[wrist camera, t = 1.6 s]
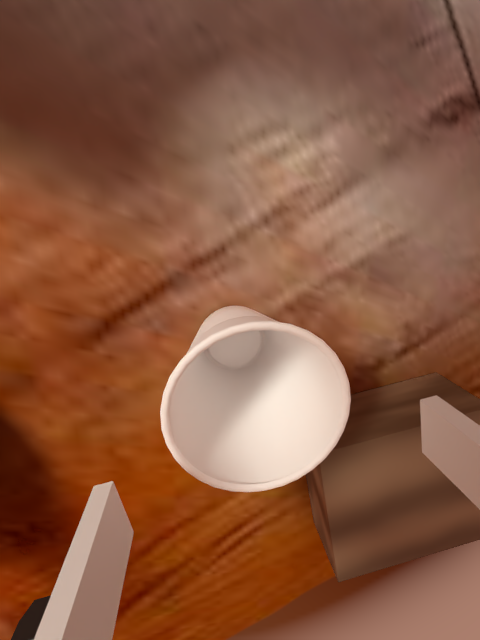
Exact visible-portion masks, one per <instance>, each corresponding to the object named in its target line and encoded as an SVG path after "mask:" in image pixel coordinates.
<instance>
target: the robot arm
mask: <svg viewBox="0 0 480 640" xmlns="http://www.w3.org/2000/svg"><path fill="white" fill-rule="evenodd" d="M420 414H421V438H422V453H423V454H424V455H425V456H426V457H427V458H428V459H429V460H430V461H431V462H432V463H433V464H434V465H435V466H436V467H437V468H438V469H439V470H440V471H441V472H442V473H443V474H444V475H445V476H447V477H448V478H449V479H450V480H451V481H452V482H453V483H454V484H455V485H456V486H457V487H458V488H459V489H460V490H461V491H462V492H463V493H464V494H465V495H466V496H467V497H468V498H469V499H470V500H471V501H472V502H473V503H474V504H475V505H476V506H477V507H478V508H479V509H480V425H478V424H477V423H475V422H474V421H473V420H471V419H470V418H468V417H467V416H465V415H464V414H463V413H461V412H460V411H458V410H457V409H455V408H454V407H453V406H451V405H450V404H448V403H447V402H445V401H444V400H443V399H441V398H440V397H438V396H437V395H436V396H432V397H428V398H424V399H421V400H420ZM133 533H134V532H133V529H132V527H131V524H130V522H129V519H128V517H127V514H126V512H125V509H124V507H123V505H122V502H121V500H120V497H119V495H118V492H117V490H116V487H115V485H114V482H113V481H111V482H108V483H104V484H100V485H96V486H94V487H93V489H92V492H91V495H90V497H89V500H88V502H87V505H86V507H85V510H84V512H83V515H82V518H81V520H80V523H79V525H78V528H77V530H76V533H75V535H74V538H73V541H72V543H71V546H70V548H69V551H68V553H67V556H66V558H65V561H64V564H63V566H62V569H61V571H60V574H59V576H58V579H57V581H56V584H55V587H54V589H53V592H52V594H51V596H47V597H44V598H40V599H37V600H34V602H33V603H32V604H31V606H30V607H29V609H28V610H27V611H26V613H25V614H24V616H23V617H22V618H21V620H20V621H19V623H18V625H17V627H16V630H15V632H14V634H13V636H12V638H11V640H112V637H113V632H114V627H115V622H116V617H117V612H118V607H119V602H120V597H121V592H122V587H123V582H124V577H125V572H126V568H127V563H128V558H129V553H130V548H131V543H132V538H133Z"/></svg>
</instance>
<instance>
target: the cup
mask: <svg viewBox="0 0 480 640" xmlns="http://www.w3.org/2000/svg"><path fill="white" fill-rule="evenodd" d="M350 403H351V395H350V385H349V380H348V377H347V374H346V371H345V368H344V366H343V365H342V363H341V361H340V360H339V358H338V356H337V355H336V353H335V352H334V351H333V350H332V349H331V348H330V347H329V346H328V345H327V344H326V343H325V342H324V341H323V340H322V339H320V338H319V337H317V336H316V335H314V334H313V333H311V332H310V331H308V330H305V329H303V328H300V327H297V326H295V325H292V324H288V323H281V322H278V321H276V320H274V319H272V318H269V317H267V316H265V315H263V314H261V313H259V312H257V311H255V310H253V309H250V308H248V307H244V306H228V307H224V308H221V309H219V310H217V311H215V312H214V313H212V314H211V315H209V316H208V317H207V318H206V319H205V321H204V322H203V324H202V325H201V327H200V329H199V331H198V333H197V335H196V337H195V339H194V341H193V342H192V344H191V346H190V348H189V350H188V352H187V354H186V355H185V356H184V357H183V358H182V359H181V360H180V362H179V363H178V365H177V366H176V368H175V369H174V371H173V372H172V374H171V375H170V377H169V380H168V382H167V385H166V387H165V390H164V392H163V397H162V403H161V410H160V415H161V429H162V432H163V435H164V439H165V442H166V445H167V447H168V448H169V450H170V452H171V453H172V455H173V457H174V458H175V460H176V461H177V462H178V463H179V464H180V465H181V466H182V467H183V468H184V469H185V470H186V471H187V472H188V473H189V474H191V475H192V476H194V477H195V478H197V479H198V480H200V481H202V482H204V483H206V484H209V485H211V486H213V487H216V488H220V489H224V490H229V491H236V492H256V491H265V490H269V489H273V488H277V487H281V486H284V485H286V484H288V483H290V482H293V481H295V480H297V479H299V478H301V477H302V476H304V475H305V474H307V473H308V472H310V471H312V470H313V469H314V468H315V467H316V466H318V465H319V464H320V463H321V462H322V461H323V460H324V459H325V458H326V457H327V456H328V455H329V453H330V452H331V451H332V450H333V448H334V447H335V446H336V444H337V443H338V441H339V439H340V437H341V435H342V433H343V432H344V429H345V426H346V423H347V420H348V417H349V411H350Z"/></svg>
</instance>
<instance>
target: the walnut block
mask: <svg viewBox="0 0 480 640" xmlns="http://www.w3.org/2000/svg"><path fill="white" fill-rule="evenodd" d="M436 395H437V396H438V397H440V398H441V399H443V400H444V401H445V402H447V403H448V404H450V405H451V406H453V407H454V408H455V409H457V410H458V411H460V412H461V413H463V414H464V415H465V416H467V417H468V418H470V419H471V420H473V421H474V422H475V423H477V424H478V425H480V399H478V398H477V397H475V396H474V395H472V394H470V393H469V392H467V391H465V390H464V389H462V388H461V387H459V386H457V385H456V384H454V383H453V382H451V381H449V380H448V379H446V378H445V377H443V376H441V375H440V374H438V373H432V374H428V375H425V376H421V377H417V378H413V379H409V380H405V381H402V382H398V383H394V384H390V385H386V386H383V387H379V388H375V389H371V390H367V391H363V392H360V393H356V394H352V395H351V403H350V411H349V417H348V420H347V423H346V426H345V429H344V432H343V433H342V435H341V437H340V439H339V441H338V443H337V444H336V446H335V447H334V448H333V450H332V451H331V452H330V453H329V455H328V456H327V457H326V458H325V459H324V460H323V461H322V462H321V463H320V464H319V465H318V466H316V467H315V468H314V469H313V470H312V471H310V472H308V473H307V474H306V479H307V484H308V490H309V496H310V501H311V507H312V513H313V519H314V523H315V526H316V528H317V530H318V533H319V535H320V538H321V540H322V543H323V545H324V548H325V550H326V553H327V555H328V558H329V560H330V563H331V565H332V568H333V570H334V573H335V575H336V578H337V580H338V582H341V581H344V580H348V579H351V578H354V577H357V576H361V575H364V574H367V573H371V572H374V571H377V570H380V569H384V568H387V567H391V566H394V565H397V564H400V563H403V562H407V561H410V560H413V559H417V558H420V557H424V556H427V555H430V554H434V553H437V552H440V551H443V550H447V549H450V548H453V547H457V546H460V545H463V544H467V543H470V542H473V541H476V540H480V509H479V508H478V507H477V506H476V505H475V504H474V503H473V502H472V501H471V500H470V499H469V498H468V497H467V496H466V495H465V494H464V493H463V492H462V491H461V490H460V489H459V488H458V487H457V486H456V485H455V484H454V483H453V482H452V481H451V480H450V479H449V478H448V477H447V476H445V475H444V474H443V473H442V472H441V471H440V470H439V469H438V468H437V467H436V466H435V465H434V464H433V463H432V462H431V461H430V460H429V459H428V458H427V457H426V456H425V455H424V454H423V453H422V438H421V414H420V400H421V399H424V398H428V397H432V396H436Z"/></svg>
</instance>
